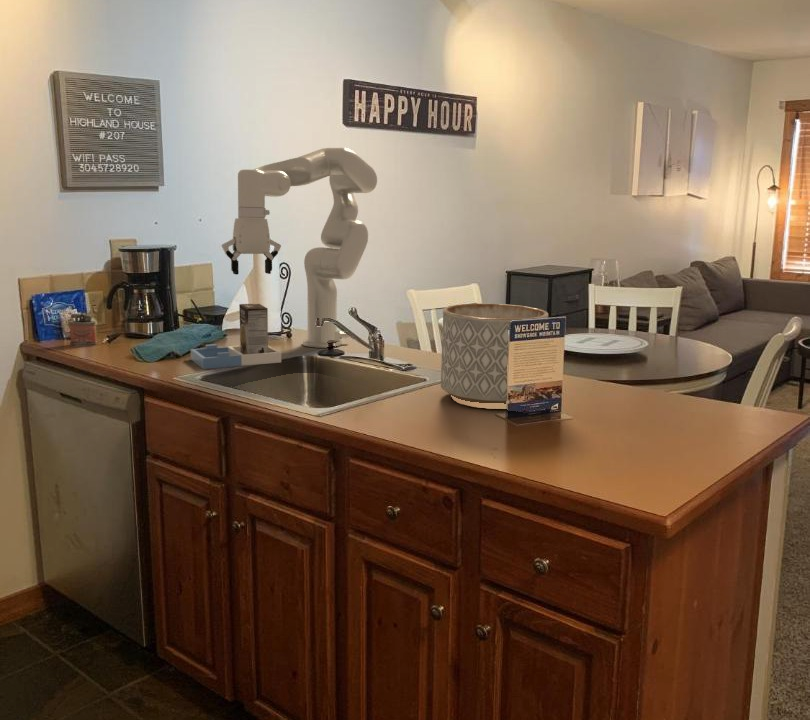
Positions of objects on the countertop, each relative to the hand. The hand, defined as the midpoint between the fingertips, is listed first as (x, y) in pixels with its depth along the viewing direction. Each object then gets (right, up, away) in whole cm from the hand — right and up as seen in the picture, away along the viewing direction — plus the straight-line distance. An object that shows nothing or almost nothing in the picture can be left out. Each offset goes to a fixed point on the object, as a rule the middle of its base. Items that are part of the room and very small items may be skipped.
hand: (251, 273), depth 231 cm
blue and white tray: (-5, -25, +3) cm, 26 cm away
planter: (+66, -35, -33) cm, 82 cm away
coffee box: (0, -25, +6) cm, 26 cm away
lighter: (-57, -21, +20) cm, 64 cm away
